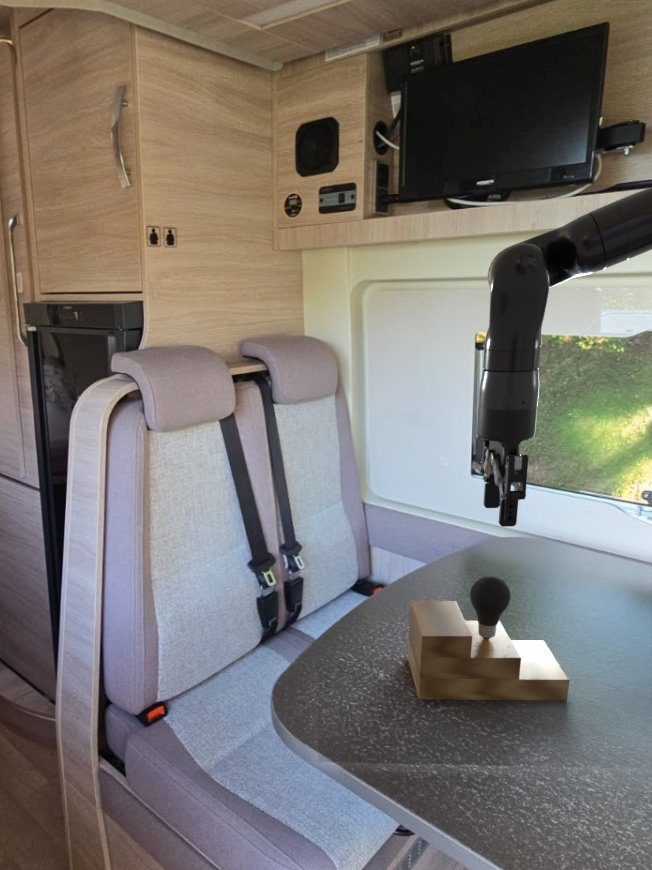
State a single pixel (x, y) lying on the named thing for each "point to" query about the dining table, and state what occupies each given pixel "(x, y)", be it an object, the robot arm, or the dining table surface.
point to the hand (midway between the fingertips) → (498, 516)
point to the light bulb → (489, 603)
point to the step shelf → (527, 688)
